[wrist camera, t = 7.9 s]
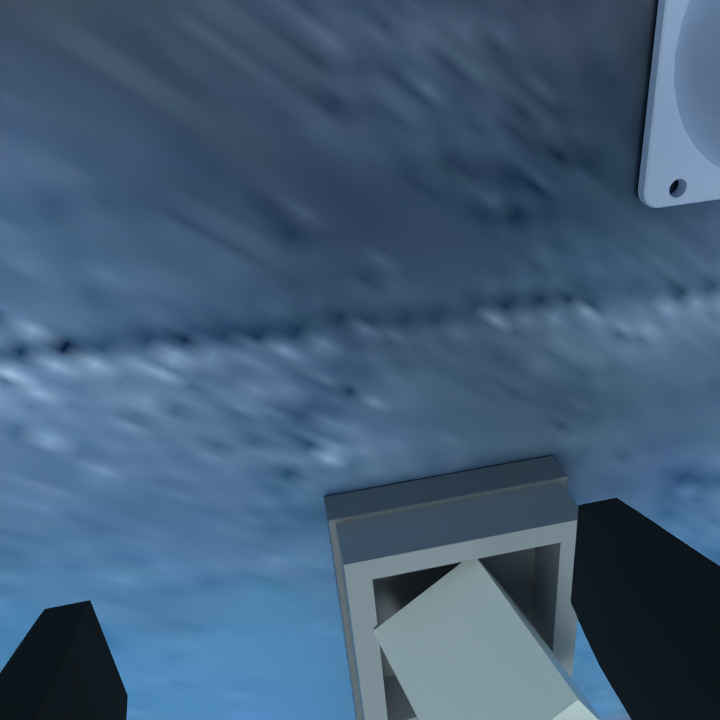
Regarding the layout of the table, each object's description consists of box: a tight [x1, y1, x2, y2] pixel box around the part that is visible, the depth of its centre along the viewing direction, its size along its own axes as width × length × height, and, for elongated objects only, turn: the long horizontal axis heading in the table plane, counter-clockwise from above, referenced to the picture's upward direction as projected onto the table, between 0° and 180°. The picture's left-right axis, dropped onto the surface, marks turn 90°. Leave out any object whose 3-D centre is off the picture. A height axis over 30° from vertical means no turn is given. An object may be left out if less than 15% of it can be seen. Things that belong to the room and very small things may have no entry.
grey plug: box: [373, 559, 602, 720], centre depth 20 cm, size 4×5×6 cm
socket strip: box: [324, 456, 578, 720], centre depth 25 cm, size 8×19×3 cm, turn 5°
